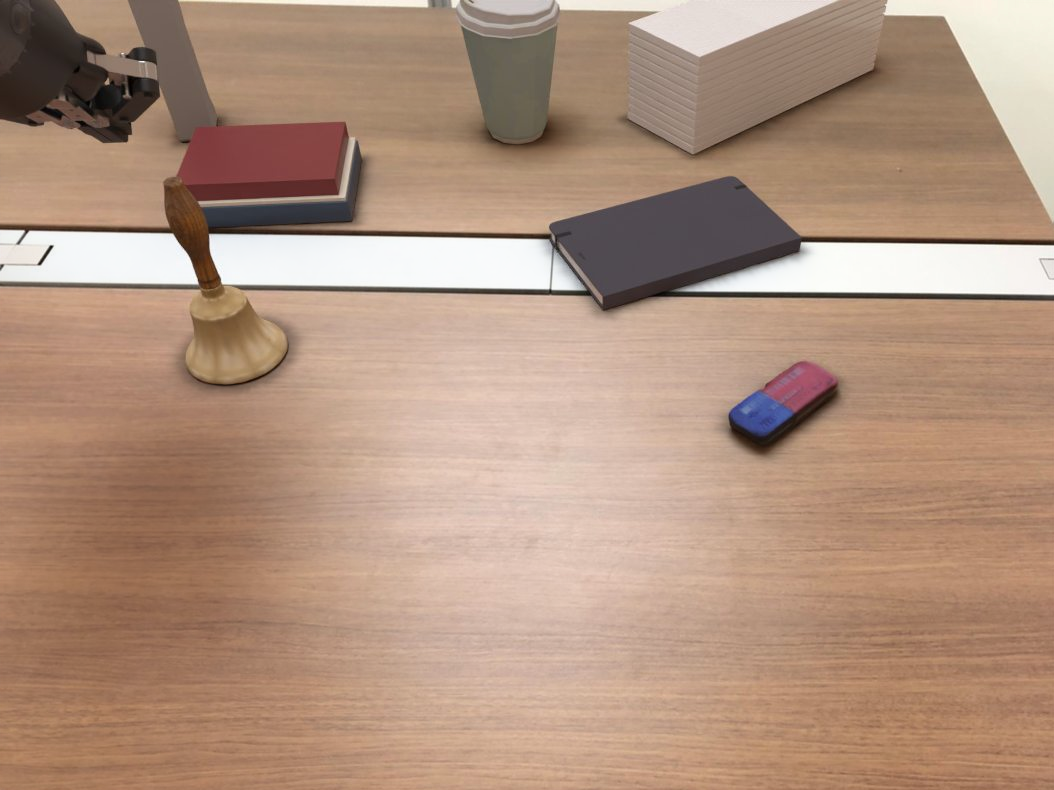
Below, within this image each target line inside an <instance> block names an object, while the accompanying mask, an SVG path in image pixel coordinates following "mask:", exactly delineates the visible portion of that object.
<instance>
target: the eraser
mask: <svg viewBox="0 0 1054 790" xmlns="http://www.w3.org/2000/svg"><path fill="white" fill-rule="evenodd" d="M838 386H839V380H838V378H837V377H836V376H835V375H834V374H832V373H831V372H830V371H828V370H826V369H825V368H823V367H821V366H819V365H818V364H816V363H813V362H812V361H808V360H801V361H798V362H796V363H794V364H793V365H791V366H789V368H787V369H785V370H783V371H782V372H780V373H779V374H778V375H777V376H776V377H774V378H773V379H772V380H770V381H768V382H767V383H765V385H764V387H763V388H760V389H758V390H756V391H754V392H753V393H752V394H750V395H748V396H747V397H746V398H744V399H743V400H742V401H741V402H739V403H737V404H736V405H735V406H734V407H732V408H731V410H729V412H728V415H727V418H728V422H729V426H730V427H731V428H733V429H734V430H735V431H737V432H739V433H740V434H742V435H743V436H745V437H746V438H748V439H750V440H752V441H753V442H755V443H757V444H760V445H762V446H766V447H768V446H770V445H772V444H774V443H775V442H777V441H778V440H779V439H781V438H782V437H784V436H786V434H787V433H789V432H790V431H791V430H792V429H794V428H795V427H796V426H797V425H798V424H800V423H801V422H802V421H804V419H806V418H807V417H809V416H810V415H811V414H812V413H814V412H815V411H816V410H817V409H819V408H820V407H822V405H824V404H826V403H827V402H828V401H829V400H830V399H831V398H833V396H834V394H835V392H836V391H837V389H838Z"/></svg>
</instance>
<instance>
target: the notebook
mask: <svg viewBox="0 0 1054 790" xmlns="http://www.w3.org/2000/svg"><path fill="white" fill-rule="evenodd" d="M548 229H549V231H550V232H551V235H550V236H549V241H550V243H551V245H552V246H553V247H554V248H555V250H556V251H557V253H558V254H559V255H560V256H561V258H562V259H563V260H564V261H565V262H566V264H567V266H568V267H569V268H570V269H571V271H572V272H573V273H574V274H575V276H576V277H577V278H578V280H579V281H580V282H581V284H582V285H583V286H584V288H585V289H586V290H587V291H588V292H589V294H590V295H591V296H592V298H593V299H594V300H595V302H596V303H597V304H598V305H599V307H600V308H601V309H602V311H604V310H608V309H611V308H614V307H618V306H622V305H624V304H628V303H632V302H634V301H638V300H642V299H644V298H645V299H646V298H648V297H651V296H655V295H657V294H661V293H664V292H668V291H671V290H674V289H677V288H682V287H684V286H688V285H690V284H694V283H698V282H701V281H704V280H708V279H710V278H715V277H718V276H721V275H725V274H727V273H728V274H729V273H732V272H735V271H737V270H740V269H745V268H747V267H751V266H754V265H757V264H760V263H763V262H764V263H765V262H767V261H770V260H771V261H772V260H774V259H777V258H781V257H784V256H786V255H790V254H793V253H797V252H800V251H801V245H802V240H803V237H802V236H801V235H800V234H799V233H798V232H797V231H796V230H795V229H793V228H792V226H790V225H789V224H788V223H787V222H786V221H785V220H784V219H783V218H782V217H780V216H779V215H778V214H777V213H776V212H775V211H774V210H773V209H772V208H771V207H769V205H767V204H766V203H765V202H764V201H763V200H762V199H761V198H760V197H759V196H758V195H757V194H755V193H754V191H752V190H751V189H750V188H749V187H748V186H747V185H746V184H745V183H744V182H743V181H742V180H740V179H739V178H738V177H736V176H734V175H728V176H723V177H720V178H719V177H718V178H716V179H712V180H708V181H704V182H700V183H696V184H693V185H688V186H684V187H681V188H678V189H674V190H670V191H666V192H662V193H659V194H658V193H657V194H655V195H651V196H647V197H643V198H640V199H635V200H632V201H628V202H624V203H621V204H617V205H613V206H609V207H606V208H602V209H598V210H594V211H590V212H586V213H582V214H579V215H574V216H571V217H567V218H564V219H559V220H555V221H554V222H551V223H549V225H548Z"/></svg>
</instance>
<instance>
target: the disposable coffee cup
mask: <svg viewBox="0 0 1054 790" xmlns="http://www.w3.org/2000/svg"><path fill="white" fill-rule="evenodd" d="M560 7H561V6H560V4H559V3H558V2H557V0H459V1H458V3H457V4H456V6H455V18H456V20H457V21H458V23H459V24H460V28H461V32H462V35H463V39H464V43H465V44H464V45H465V48H466V52H467V56H468V60H469V64H470V68H471V72H472V76H473V80H474V84H475V88H476V93H477V96H478V101H479V104H480V108H481V112H482V116H483V120H484V124H485V126H486V128H487V129H488V132H489V133H490V135H491V137H492V139H494V140H497V141H499V142H500V143H503V144H510V145H522V144H528V143H533V142H534V141H536V140H537V139H539V138H541V137H542V136H543V133H544V131H545V128H546V126H547V123H548V114H549V106H550V97H551V88H552V79H553V78H552V77H553V68H554V62H555V52H556V42H557V34H558V25H559V19H560V18H561V15H562V13H561V9H560Z"/></svg>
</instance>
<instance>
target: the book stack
mask: <svg viewBox="0 0 1054 790" xmlns="http://www.w3.org/2000/svg"><path fill="white" fill-rule="evenodd" d="M360 149H361V148H360V143H359V140H358V139H357V137H355V136H353V137H350V136H349V131H348V127H347V123H346V121H324V122H322V121H321V122H298V123H297V122H296V123H295V122H294V123H271V124H270V123H269V124H268V123H267V124H243V125H241V124H239V125H221V126H220V125H216V126H212V127H196V129H195V131H194V134H193V136H192V138H191V141H189V144H188V146H187V149H186V151H185V154H184V156H183V159H182V161H181V163H180V166H179V169H178V170H177V173H176V175H175V177H179V178H181V179H182V181H183V183H184V184H185V186H186V187H187V189H188V190H189V191H190V192H191V193H192V195H193V196H194V197H195V199H196V200H197V201H198V203H199V205H200V206H201V208H202V210H203V213H204V216H205V218H206V222H207V225H208V229H209V228H210V229H211V228H230V227H231V228H232V227H233V228H234V227H253V226H255V227H257V226H272V225H273V226H276V225H295V224H296V225H297V224H319V223H320V224H321V223H339V222H353V217H354V211H355V204H356V199H357V191H358V185H359V179H360V173H361V166H362V160H363V159H362V158H363V157H362V154H361V150H360Z"/></svg>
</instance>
